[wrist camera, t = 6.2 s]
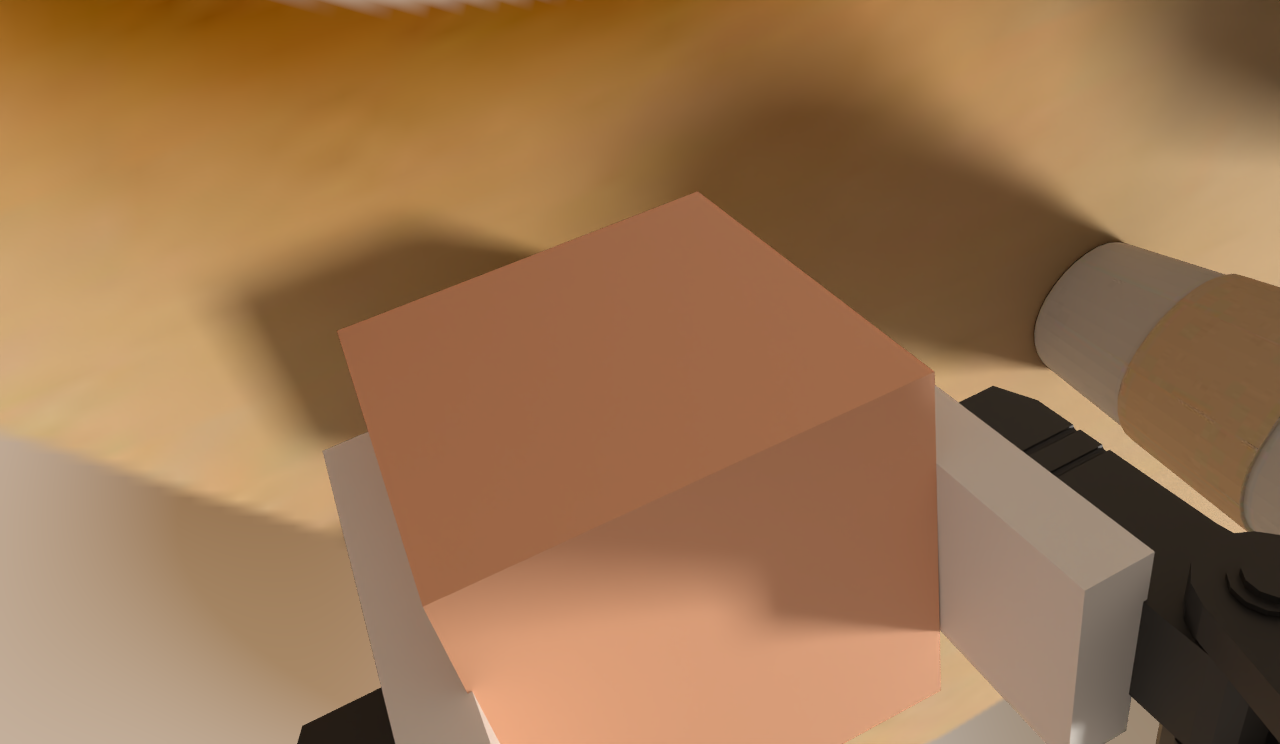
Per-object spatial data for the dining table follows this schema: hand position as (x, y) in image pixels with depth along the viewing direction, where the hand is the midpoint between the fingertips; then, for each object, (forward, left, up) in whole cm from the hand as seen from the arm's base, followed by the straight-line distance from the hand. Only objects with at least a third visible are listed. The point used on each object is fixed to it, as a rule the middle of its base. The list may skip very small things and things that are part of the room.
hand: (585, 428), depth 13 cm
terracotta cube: (0, 0, -1) cm, 1 cm away
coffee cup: (-24, +16, -14) cm, 32 cm away
